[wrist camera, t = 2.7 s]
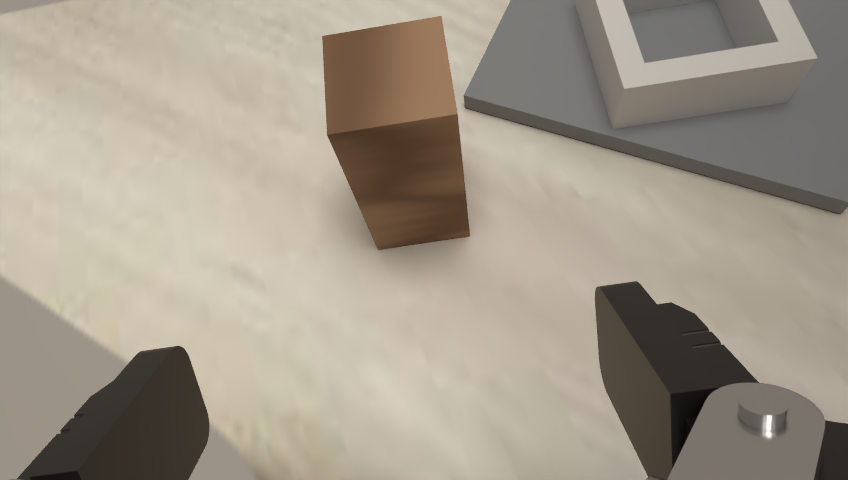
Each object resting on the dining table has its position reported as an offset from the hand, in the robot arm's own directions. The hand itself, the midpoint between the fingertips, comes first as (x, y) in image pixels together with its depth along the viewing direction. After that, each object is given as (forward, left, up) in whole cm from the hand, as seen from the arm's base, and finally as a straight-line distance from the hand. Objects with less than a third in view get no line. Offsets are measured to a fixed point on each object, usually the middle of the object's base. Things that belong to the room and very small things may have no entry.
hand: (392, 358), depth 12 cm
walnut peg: (+6, -10, -14) cm, 18 cm away
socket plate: (-3, -22, -14) cm, 26 cm away
